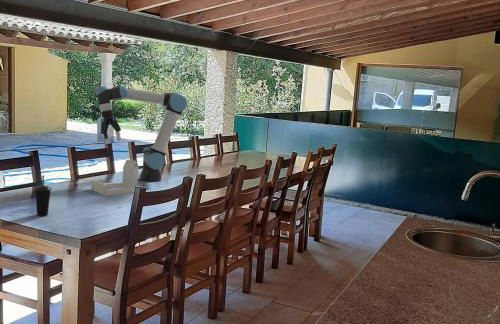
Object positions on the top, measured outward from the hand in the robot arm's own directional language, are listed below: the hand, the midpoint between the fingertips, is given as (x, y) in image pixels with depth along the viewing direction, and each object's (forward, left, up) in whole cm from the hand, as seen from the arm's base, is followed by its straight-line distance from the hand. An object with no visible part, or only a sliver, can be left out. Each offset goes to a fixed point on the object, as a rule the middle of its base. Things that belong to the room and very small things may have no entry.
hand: (114, 142), depth 327 cm
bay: (+5, +18, -28) cm, 34 cm away
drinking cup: (+65, +55, -28) cm, 90 cm away
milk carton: (-3, +18, -28) cm, 34 cm away
